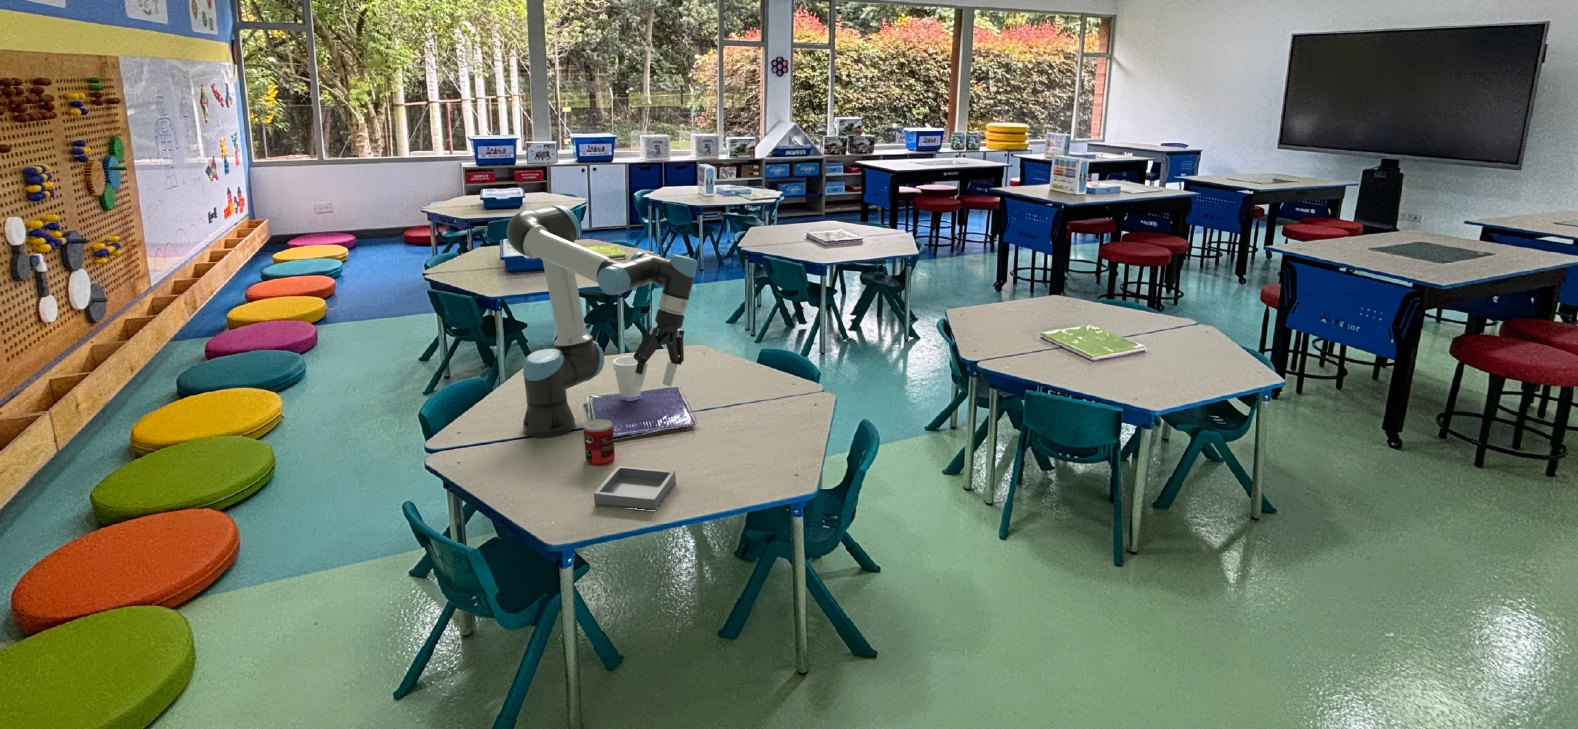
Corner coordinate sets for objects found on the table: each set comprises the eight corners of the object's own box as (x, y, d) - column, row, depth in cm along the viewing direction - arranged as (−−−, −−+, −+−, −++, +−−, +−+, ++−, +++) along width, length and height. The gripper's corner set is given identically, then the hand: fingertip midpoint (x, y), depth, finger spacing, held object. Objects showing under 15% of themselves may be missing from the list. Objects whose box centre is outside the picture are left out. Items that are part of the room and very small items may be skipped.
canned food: (587, 455, 259) (584, 419, 255) (616, 454, 260) (613, 418, 256) (584, 467, 252) (581, 430, 248) (613, 466, 253) (611, 429, 249)
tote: (594, 505, 231) (593, 493, 230) (618, 477, 246) (617, 465, 245) (655, 512, 228) (654, 499, 227) (675, 483, 243) (675, 471, 241)
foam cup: (638, 404, 295) (636, 366, 290) (611, 402, 296) (608, 364, 292) (648, 393, 303) (646, 356, 299) (622, 391, 305) (619, 354, 301)
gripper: (655, 312, 239) (635, 389, 241) (707, 317, 261) (688, 388, 263) (632, 304, 242) (613, 381, 245) (686, 310, 264) (668, 381, 267)
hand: (652, 385), depth 254 cm, fingers open, 13 cm apart
